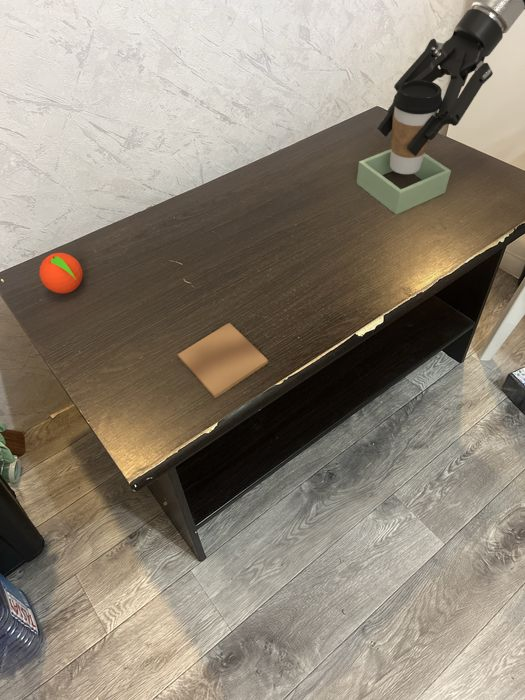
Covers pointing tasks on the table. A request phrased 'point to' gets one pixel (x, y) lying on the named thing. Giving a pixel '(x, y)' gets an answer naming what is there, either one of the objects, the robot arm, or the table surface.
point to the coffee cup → (411, 122)
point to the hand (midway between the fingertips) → (396, 141)
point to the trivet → (222, 359)
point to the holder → (405, 198)
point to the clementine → (61, 273)
